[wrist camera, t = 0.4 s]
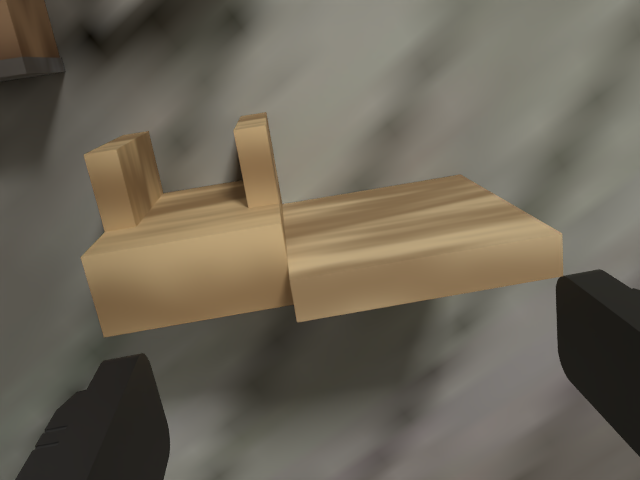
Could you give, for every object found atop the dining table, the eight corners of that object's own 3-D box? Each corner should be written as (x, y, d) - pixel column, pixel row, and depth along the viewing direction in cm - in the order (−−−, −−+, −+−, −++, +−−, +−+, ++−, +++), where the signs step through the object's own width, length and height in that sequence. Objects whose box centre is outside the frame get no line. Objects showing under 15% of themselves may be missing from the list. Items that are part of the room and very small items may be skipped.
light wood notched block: (122, 135, 36) (36, 177, 23) (453, 82, 37) (558, 93, 23) (153, 255, 38) (91, 358, 25) (462, 203, 39) (563, 276, 26)
